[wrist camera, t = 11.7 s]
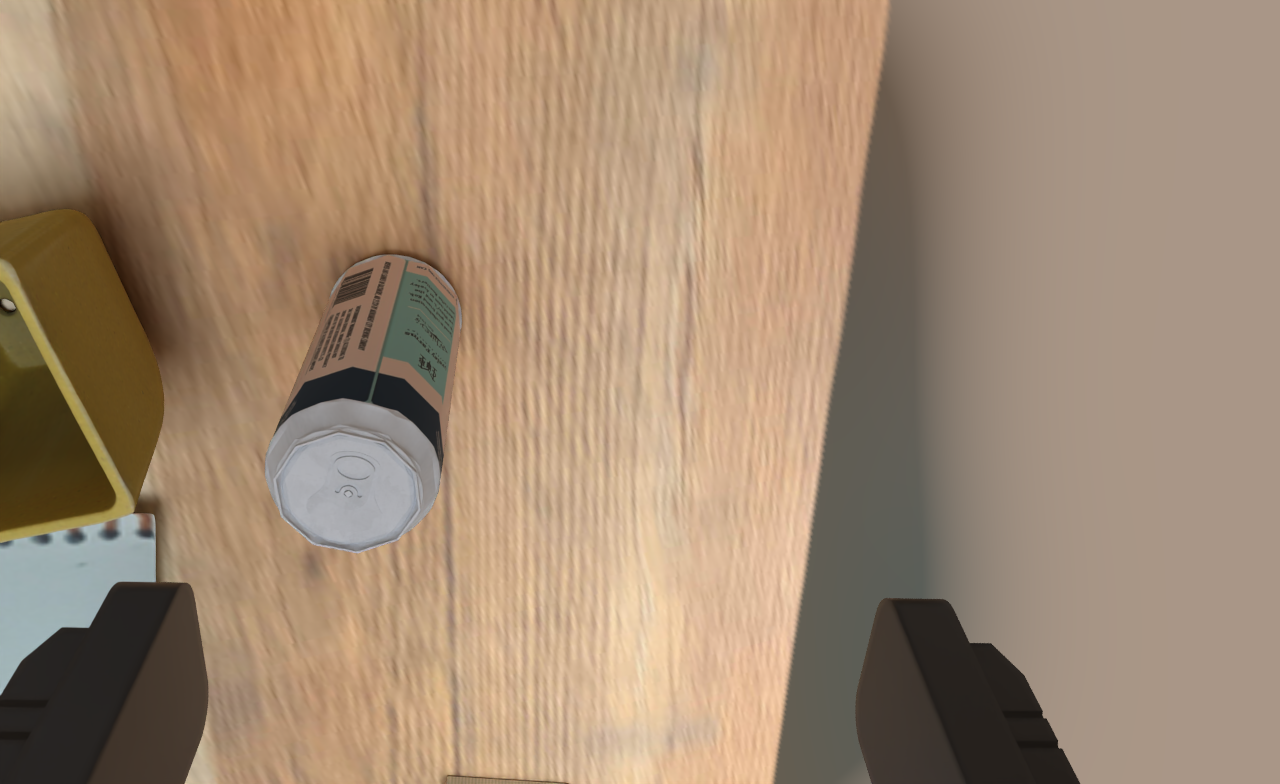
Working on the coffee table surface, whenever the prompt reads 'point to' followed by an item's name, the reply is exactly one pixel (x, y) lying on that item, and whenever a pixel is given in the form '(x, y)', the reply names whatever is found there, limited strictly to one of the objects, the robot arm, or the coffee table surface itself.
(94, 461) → the flower pot
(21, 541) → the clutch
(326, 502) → the beer can
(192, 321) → the coffee table surface
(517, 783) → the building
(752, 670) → the coffee table surface
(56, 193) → the coffee table surface
